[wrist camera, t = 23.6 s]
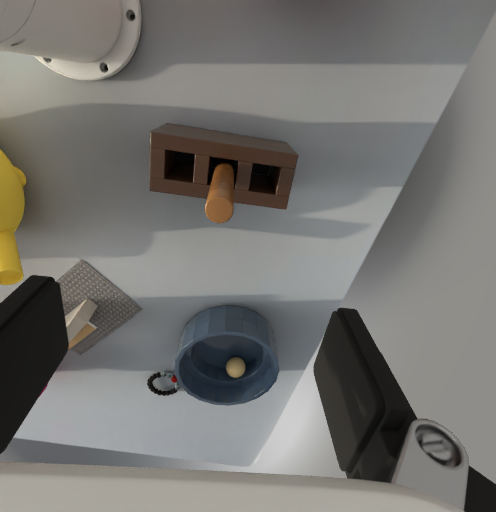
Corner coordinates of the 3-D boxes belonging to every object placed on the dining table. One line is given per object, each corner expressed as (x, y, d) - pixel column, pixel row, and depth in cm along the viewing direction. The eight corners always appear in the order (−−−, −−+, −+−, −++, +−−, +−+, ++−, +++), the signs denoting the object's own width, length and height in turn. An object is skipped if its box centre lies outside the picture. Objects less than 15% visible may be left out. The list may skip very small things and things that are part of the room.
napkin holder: (106, 311, 48) (85, 347, 41) (77, 334, 50) (53, 371, 43) (87, 297, 46) (63, 332, 40) (58, 321, 48) (31, 357, 42)
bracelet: (186, 385, 56) (186, 390, 55) (161, 396, 57) (160, 401, 56) (167, 366, 54) (166, 370, 53) (141, 378, 55) (140, 382, 54)
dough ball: (244, 374, 53) (239, 355, 54) (250, 373, 50) (244, 353, 51) (227, 380, 51) (221, 361, 52) (232, 379, 49) (226, 359, 50)
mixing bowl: (179, 368, 54) (172, 401, 48) (184, 297, 47) (177, 326, 41) (265, 375, 56) (268, 408, 50) (282, 308, 49) (288, 337, 43)
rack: (277, 188, 40) (286, 209, 33) (165, 171, 38) (149, 190, 31) (286, 142, 37) (298, 154, 30) (166, 123, 36) (149, 131, 28)
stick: (216, 166, 38) (203, 221, 22) (218, 149, 37) (205, 194, 21) (233, 168, 38) (231, 225, 22) (235, 151, 37) (235, 198, 21)
